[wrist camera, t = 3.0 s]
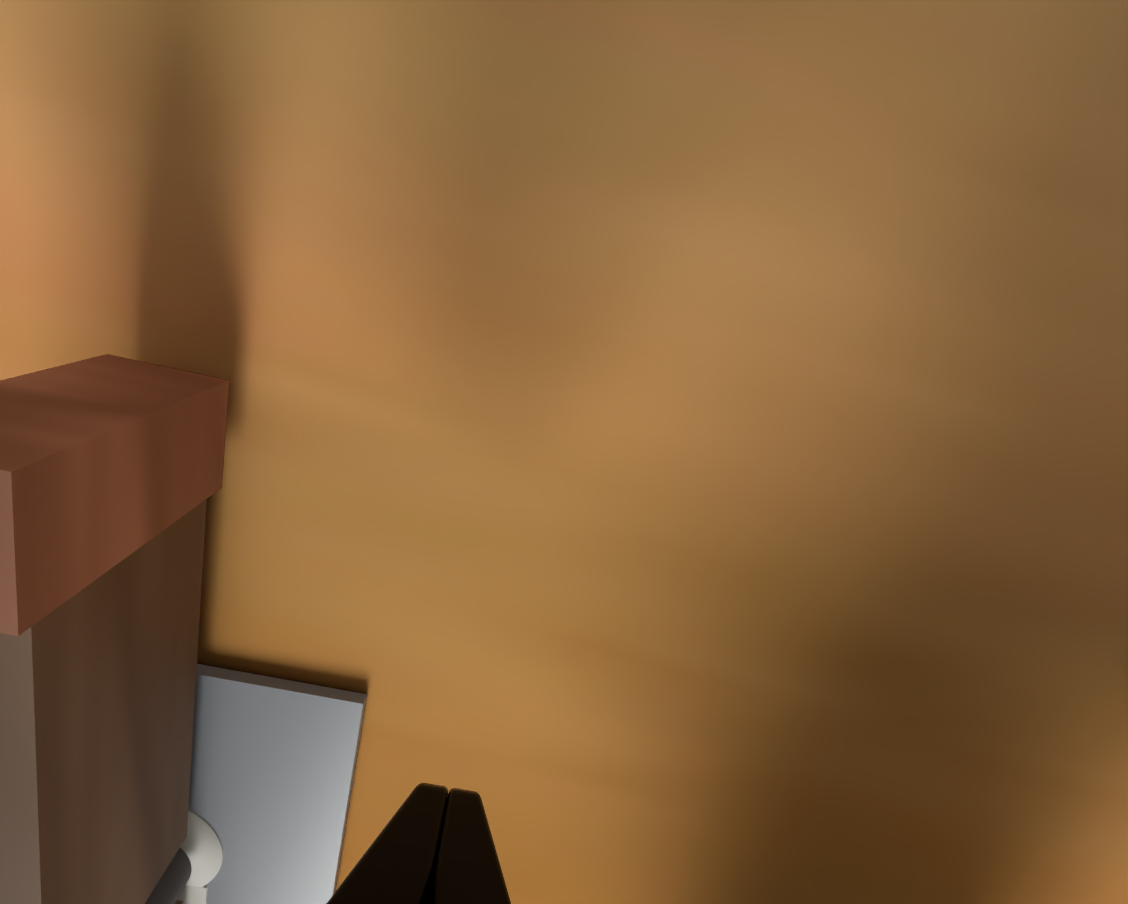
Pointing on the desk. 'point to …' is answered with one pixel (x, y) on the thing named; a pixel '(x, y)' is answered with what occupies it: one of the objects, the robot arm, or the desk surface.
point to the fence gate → (100, 622)
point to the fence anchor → (172, 881)
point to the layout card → (268, 788)
